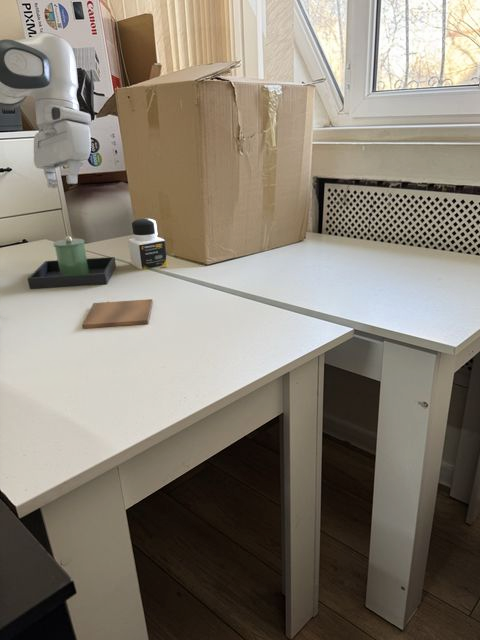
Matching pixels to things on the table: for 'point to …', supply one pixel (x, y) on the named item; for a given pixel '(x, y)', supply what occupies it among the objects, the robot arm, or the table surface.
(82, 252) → the green pot
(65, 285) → the tray
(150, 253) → the medicine bottle
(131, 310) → the wooden coaster
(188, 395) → the table surface
